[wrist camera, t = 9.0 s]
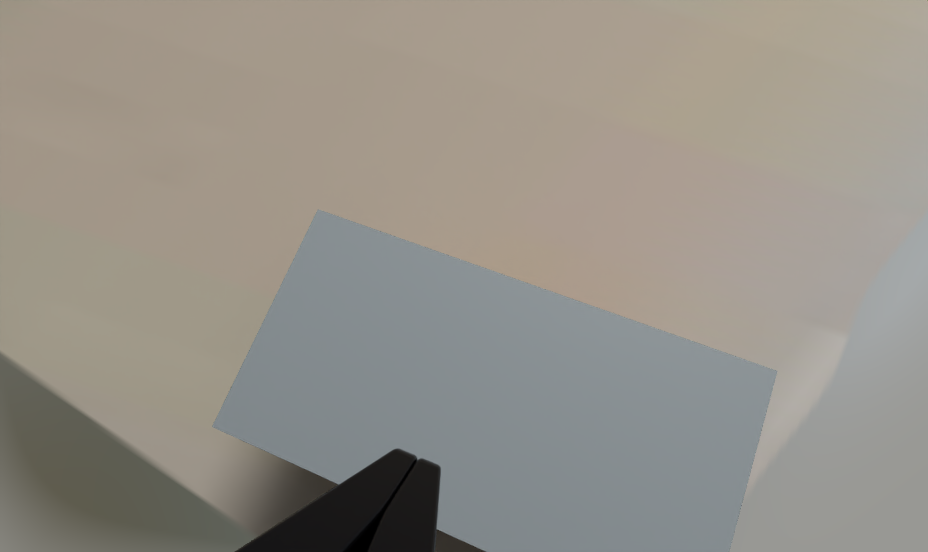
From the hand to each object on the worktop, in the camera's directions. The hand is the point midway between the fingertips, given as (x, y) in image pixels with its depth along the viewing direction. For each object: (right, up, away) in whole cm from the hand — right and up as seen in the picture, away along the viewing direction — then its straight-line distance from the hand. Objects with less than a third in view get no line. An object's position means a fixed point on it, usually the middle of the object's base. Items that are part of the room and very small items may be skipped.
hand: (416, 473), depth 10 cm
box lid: (+1, 0, +5) cm, 6 cm away
